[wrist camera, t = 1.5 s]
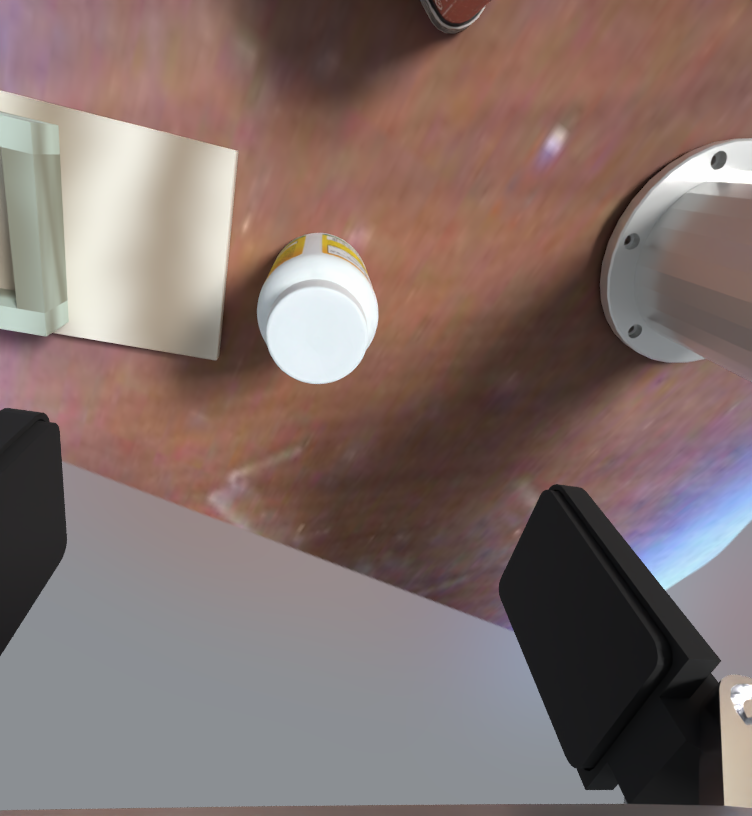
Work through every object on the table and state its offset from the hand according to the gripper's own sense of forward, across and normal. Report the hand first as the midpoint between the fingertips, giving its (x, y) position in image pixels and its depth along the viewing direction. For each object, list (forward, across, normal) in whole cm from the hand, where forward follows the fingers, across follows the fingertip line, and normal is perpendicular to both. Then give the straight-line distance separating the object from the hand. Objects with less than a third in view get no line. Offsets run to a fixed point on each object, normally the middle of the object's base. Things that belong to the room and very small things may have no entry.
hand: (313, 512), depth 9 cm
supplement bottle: (+20, 0, 0) cm, 20 cm away
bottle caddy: (+20, +14, 0) cm, 24 cm away
